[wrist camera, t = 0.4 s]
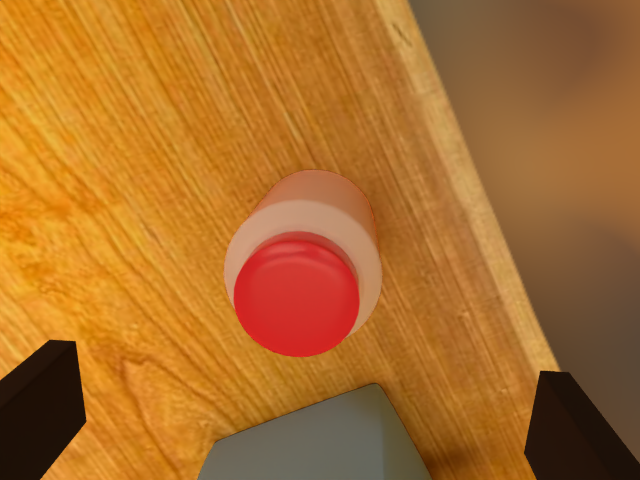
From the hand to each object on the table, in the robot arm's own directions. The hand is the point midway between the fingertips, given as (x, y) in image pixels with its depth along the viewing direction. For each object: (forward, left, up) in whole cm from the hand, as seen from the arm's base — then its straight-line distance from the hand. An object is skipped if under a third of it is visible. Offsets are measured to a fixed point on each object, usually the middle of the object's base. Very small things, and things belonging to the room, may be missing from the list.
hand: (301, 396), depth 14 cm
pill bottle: (0, -1, -18) cm, 18 cm away
